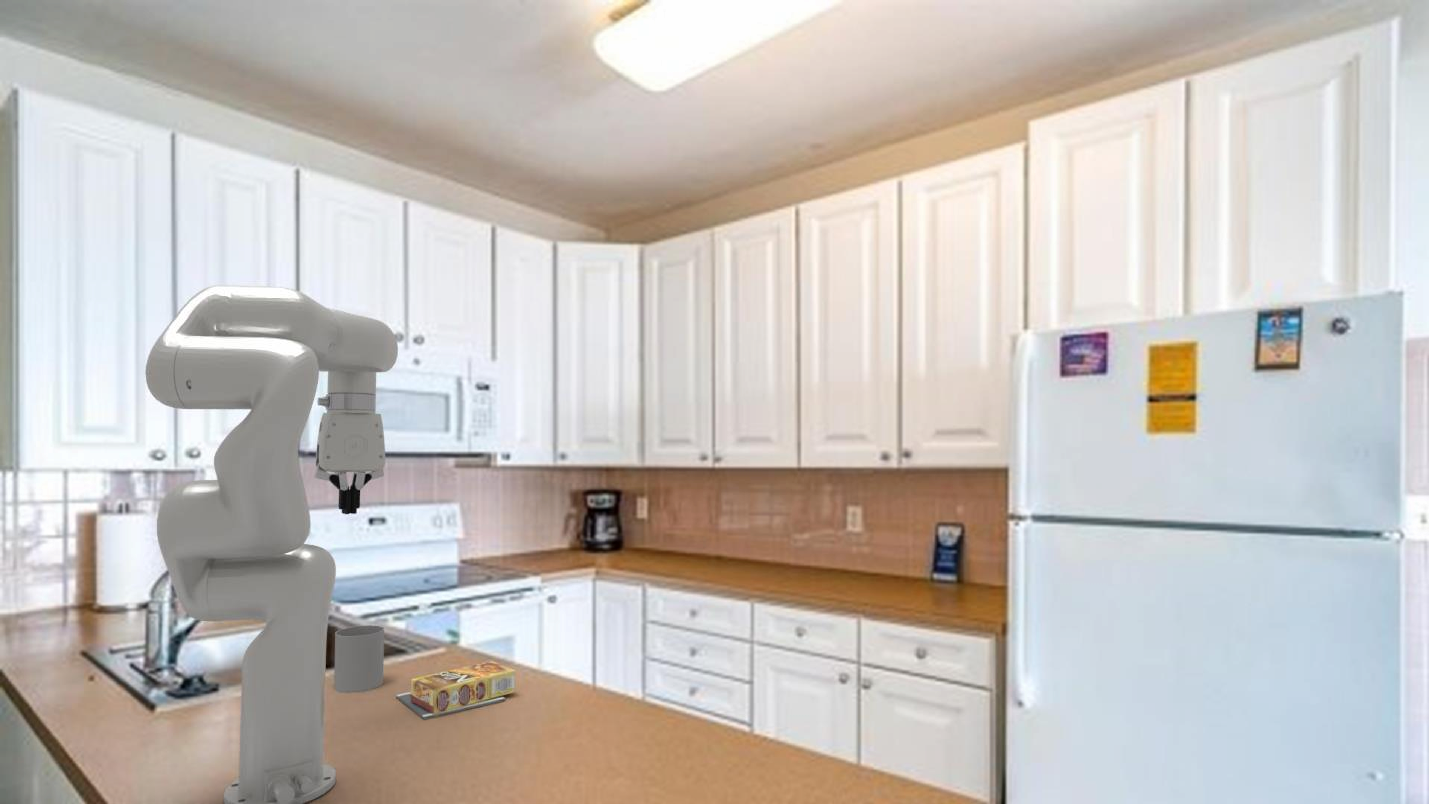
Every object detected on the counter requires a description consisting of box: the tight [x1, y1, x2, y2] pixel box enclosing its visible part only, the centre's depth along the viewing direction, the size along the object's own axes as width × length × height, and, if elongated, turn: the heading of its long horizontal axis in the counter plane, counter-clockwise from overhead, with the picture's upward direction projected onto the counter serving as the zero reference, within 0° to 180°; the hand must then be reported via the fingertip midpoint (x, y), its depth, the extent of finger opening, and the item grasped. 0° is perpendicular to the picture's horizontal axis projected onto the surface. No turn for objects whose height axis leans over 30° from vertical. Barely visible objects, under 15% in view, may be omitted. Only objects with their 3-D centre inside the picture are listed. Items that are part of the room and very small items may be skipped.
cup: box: [333, 624, 385, 694], centre depth 142 cm, size 8×8×10 cm
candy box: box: [410, 660, 516, 714], centre depth 133 cm, size 9×4×15 cm
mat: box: [395, 691, 506, 720], centre depth 134 cm, size 14×14×1 cm
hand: (349, 513), depth 129 cm, fingers closed
